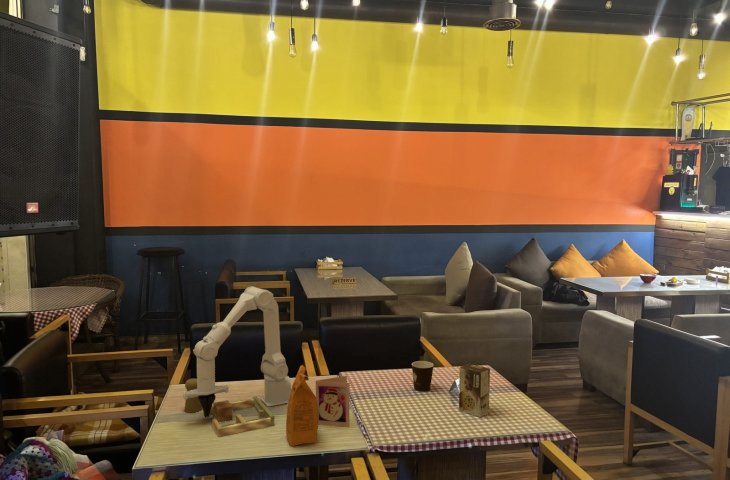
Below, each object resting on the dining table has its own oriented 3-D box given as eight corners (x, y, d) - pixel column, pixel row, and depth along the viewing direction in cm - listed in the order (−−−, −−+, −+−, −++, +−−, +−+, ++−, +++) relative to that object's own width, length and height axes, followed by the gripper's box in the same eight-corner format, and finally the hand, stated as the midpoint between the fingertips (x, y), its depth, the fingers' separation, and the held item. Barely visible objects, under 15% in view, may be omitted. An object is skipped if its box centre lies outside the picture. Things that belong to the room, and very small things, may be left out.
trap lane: (256, 404, 195) (256, 396, 194) (274, 425, 178) (274, 416, 177) (204, 414, 186) (204, 405, 186) (218, 436, 169) (218, 427, 168)
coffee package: (316, 428, 176) (316, 363, 174) (319, 446, 164) (319, 376, 162) (286, 430, 174) (285, 364, 172) (286, 448, 162) (286, 377, 160)
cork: (196, 414, 186) (196, 383, 185) (180, 412, 187) (180, 381, 186) (205, 407, 192) (204, 377, 191) (189, 405, 193) (189, 376, 192)
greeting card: (314, 425, 178) (315, 381, 177) (319, 416, 185) (320, 374, 184) (348, 427, 176) (349, 383, 175) (352, 418, 184) (352, 376, 182)
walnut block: (228, 414, 187) (227, 400, 186) (232, 420, 181) (232, 406, 181) (213, 416, 184) (213, 402, 184) (217, 423, 179) (217, 409, 178)
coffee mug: (434, 393, 208) (434, 368, 207) (412, 392, 208) (412, 367, 207) (430, 382, 220) (431, 358, 219) (409, 382, 220) (410, 358, 219)
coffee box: (489, 412, 190) (491, 368, 189) (480, 418, 185) (481, 372, 184) (467, 405, 196) (468, 362, 195) (457, 410, 192) (459, 366, 190)
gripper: (224, 369, 186) (225, 407, 187) (181, 376, 179) (182, 415, 180) (229, 376, 180) (230, 415, 181) (185, 383, 173) (185, 423, 174)
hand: (206, 416), depth 180 cm, fingers closed
